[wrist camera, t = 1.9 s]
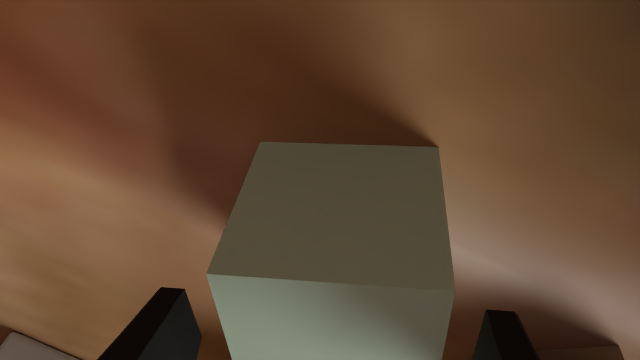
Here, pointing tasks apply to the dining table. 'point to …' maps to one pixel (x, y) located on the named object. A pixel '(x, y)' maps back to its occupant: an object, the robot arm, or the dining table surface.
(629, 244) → the dining table surface
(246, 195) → the sage block
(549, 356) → the walnut block
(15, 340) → the skincare box
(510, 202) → the dining table surface
